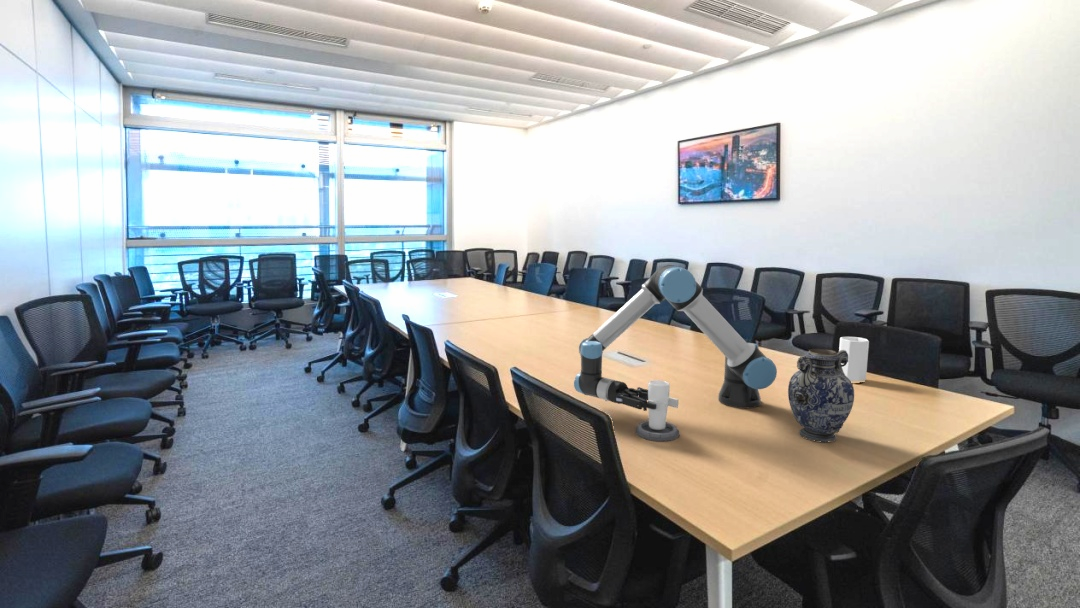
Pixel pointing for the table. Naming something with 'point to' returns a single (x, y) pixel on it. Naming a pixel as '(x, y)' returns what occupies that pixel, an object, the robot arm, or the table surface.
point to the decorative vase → (821, 394)
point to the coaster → (657, 432)
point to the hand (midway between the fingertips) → (671, 406)
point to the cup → (855, 357)
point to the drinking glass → (659, 394)
